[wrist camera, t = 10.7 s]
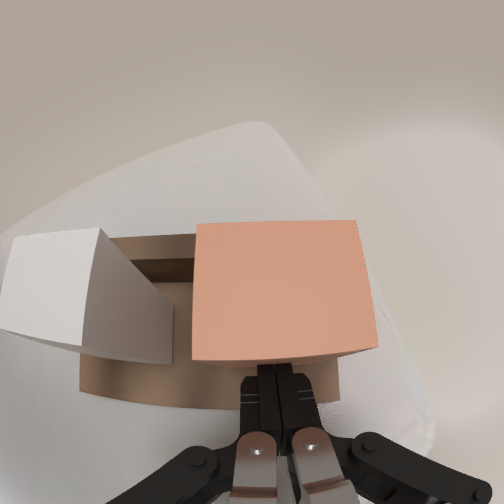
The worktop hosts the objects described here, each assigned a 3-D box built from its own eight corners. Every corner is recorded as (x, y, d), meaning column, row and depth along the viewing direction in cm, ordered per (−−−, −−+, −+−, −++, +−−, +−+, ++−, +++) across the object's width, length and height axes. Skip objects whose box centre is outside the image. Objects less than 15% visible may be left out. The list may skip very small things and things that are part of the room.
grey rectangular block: (105, 358, 15) (-5, 327, 6) (109, 303, 17) (14, 236, 8) (172, 364, 15) (81, 345, 6) (173, 304, 17) (100, 227, 8)
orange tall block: (227, 368, 15) (191, 359, 6) (226, 306, 17) (197, 224, 8) (308, 363, 16) (378, 346, 6) (303, 303, 17) (355, 220, 8)
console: (93, 391, 16) (45, 389, 11) (102, 273, 21) (64, 241, 15) (331, 397, 16) (363, 405, 11) (319, 268, 21) (340, 229, 15)
